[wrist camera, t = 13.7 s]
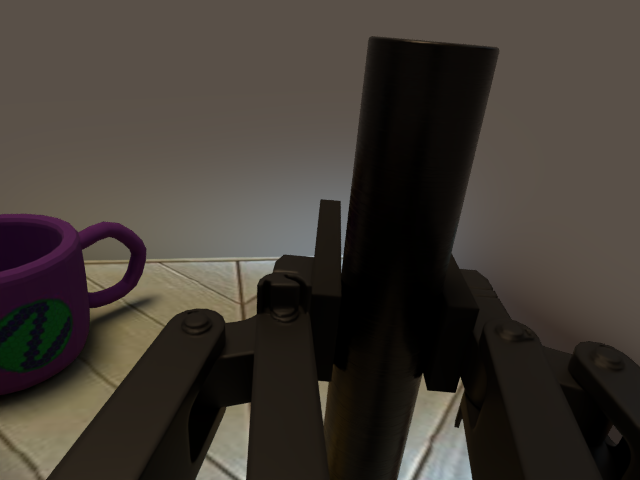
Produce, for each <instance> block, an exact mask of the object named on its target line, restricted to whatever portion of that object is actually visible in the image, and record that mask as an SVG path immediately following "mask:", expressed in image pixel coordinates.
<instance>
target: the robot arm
mask: <svg viewBox="0 0 640 480" xmlns="http://www.w3.org/2000/svg"><path fill="white" fill-rule="evenodd" d="M340 203H341V202H340V201H334V200H322V199H321V201H320V209H319V219H318V228H317V237H316V246H315V255H314V257H306V256H294V255H283V256H282V257H281V258H279V259H278V260H277V261H276V262H275V266H274V269H273V273H272V274H268V275H266V276H264V277H263V278H261V279H260V280H259V283H258V285H257V315H255V316H253V317H252V318H249V319H246V320H243V321H238V322H231V323H225V321H224V318H223V316H221V315H220V314H219V313H217V312H216V311H212V310H209V309H192V310H186V311H184V312H182V313H179V314H177V315H176V316H174V317H173V318H172V319H171V320H170V321H169V322H168V323H167V325H166V326H165V327H164V329H163V330H162V331H161V332H160V334H159V335H158V336H157V338H156V339H155V340H154V341H153V343H152V344H151V345H150V347H149V348H148V349H147V350H146V352H145V353H144V354H143V356H142V357H141V358H140V359H139V361H138V362H137V363H136V365H135V366H134V367H133V368H132V370H131V371H130V372H129V374H128V375H127V376H126V377H125V379H124V380H123V381H122V383H121V384H120V385H119V386H118V388H117V389H116V390H115V392H114V393H113V394H112V395H111V397H110V398H109V399H108V401H107V402H106V403H105V404H104V406H103V407H102V408H101V410H100V411H99V412H98V413H97V415H96V416H95V417H94V419H93V420H92V421H91V422H90V424H89V425H88V426H87V428H86V429H85V430H84V431H83V433H82V434H81V435H80V437H79V438H78V439H77V440H76V442H75V443H74V444H73V446H72V447H71V448H70V449H69V451H68V452H67V453H66V455H65V456H64V457H63V458H62V460H61V461H60V462H59V464H58V465H57V466H56V467H55V469H54V470H53V471H52V473H51V474H50V475H49V476H48V478H47V479H46V480H195V479H196V477H197V475H198V472H199V470H200V468H201V466H202V463H203V461H204V459H205V456H206V454H207V452H208V450H209V447H210V445H211V443H212V441H213V438H214V436H215V434H216V432H217V429H218V427H219V425H220V422H221V420H222V418H223V416H224V413H225V411H226V407H227V406H233V405H238V404H244V403H250V402H251V413H250V428H249V444H248V460H247V475H246V480H330V477H329V468H328V460H327V452H326V444H325V435H324V427H323V419H322V410H321V402H320V394H319V385H318V381H327V382H331V380H332V372H333V364H334V355H335V347H336V339H337V330H338V322H339V313H340V305H341V206H340V205H341V204H340ZM423 375H424V379H425V383H426V387H427V390H429V391H440V392H451V393H456V389H457V386H458V382H459V379H460V377H461V380H462V382H463V385H464V388H465V389H464V393H463V396H462V399H461V403H460V406H459V410H458V413H457V416H456V420H455V426H454V427H457V428H459V425H460V422H461V420H462V419H463V423H464V429H465V436H466V442H467V448H468V455H469V461H470V467H471V474H472V480H640V367H639V366H638V365H637V364H636V363H635V362H634V361H633V360H632V359H630V358H629V357H628V356H627V355H625V354H624V353H622V352H620V351H619V350H617V349H615V348H614V347H612V346H609V345H605V344H602V343H597V342H590V341H588V342H580V343H579V344H578V345H577V346H576V347H575V349H574V351H573V354H569V353H565V352H562V351H558V350H555V349H551V348H548V347H545V346H542V344H541V342H540V340H539V338H538V336H537V335H536V334H535V333H534V332H533V331H532V330H531V329H530V328H528V327H527V326H526V325H523V324H521V323H519V322H517V321H514V320H512V319H511V318H510V316H509V314H508V313H507V311H506V309H505V308H504V306H503V305H502V303H501V301H500V299H498V296H497V294H496V293H495V291H493V288H492V286H491V284H490V283H489V281H488V279H486V278H485V277H484V276H483V275H481V274H480V273H479V272H478V271H476V270H466V269H459V267H458V265H457V263H456V261H455V259H454V257H453V255H452V253H451V256H450V260H449V265H448V269H447V273H446V277H445V281H444V286H443V290H442V294H441V298H440V302H439V307H438V311H437V315H436V319H435V323H434V328H433V332H432V336H431V340H430V344H429V349H428V353H427V357H426V361H425V365H424V370H423ZM613 425H614V426H615V427H616V428H617V430H618V431H619V432H620V433H621V435H622V436H623V437H622V439H621V440H620V442H619V444H617V445H616V444H615V443H614V442H613V441H612V440H611V439H610V437H609V436H608V433H609V431H610V429H611V428H612V426H613Z"/></svg>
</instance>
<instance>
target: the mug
mask: <svg viewBox="0 0 640 480" xmlns="http://www.w3.org/2000/svg"><path fill="white" fill-rule="evenodd" d="M107 237H112V238H115V239H117V240H118V241H120V242H122V243H123V244H124V245H125V246H126V247H127V248H128V249H130V252H131V257H130V261H129V265H128V269H127V271H126V273H125V275H124V277H123V279H122V280H121V281H120V282H118V283H117V284H115V285H114V286H112V287H109V288H107V289H105V290H102V291H98V292H94V293H89V292H88V290H87V281H86V273H85V266H84V260H83V254H82V249H85V248H87V247H89V246H90V245H92V244H94V243H95V242H97V241H99V240H101V239H104V238H107ZM145 261H146V247H145V245H144V243H143V241H142V240H141V239H140V238H139V237H138V236H137V235H136V234H135V233H134V232H133V231H132V230H130V229H128V228H127V227H125V226H123V225H121V224H119V223H112V222H101V223H98V224H95V225H92V226H89V227H87V228H86V229H84V230H82V231H80V232H79V233H78V232H77V231H76V230H75V229H74V228H73V227H72V226H71V225H70V224H69V223H68V222H66V221H63V220H61V219H58V218H54V217H49V216H44V215H32V214H1V215H0V395H5V394H9V393H13V392H17V391H20V390H24V389H27V388H29V387H31V386H34V385H36V384H39V383H41V382H43V381H45V380H47V379H48V378H50V377H52V376H53V375H55V374H57V373H59V372H60V371H62V370H63V369H64V368H65V367H67V366H68V365H69V364H70V363H71V362H73V361H74V360H75V359H76V357H77V356H78V355H79V353H80V352H81V351H82V349H83V347H84V345H85V343H86V339H87V336H88V333H89V321H90V309H89V308H97V307H101V306H104V305H107V304H110V303H112V302H114V301H116V300H118V299H120V298H122V297H124V296H125V295H127V294H128V293H129V292H130V291H131V290H132V289H133V288H134V287H135V286H136V285H137V283H138V281H139V279H140V277H141V275H142V273H143V269H144V265H145Z"/></svg>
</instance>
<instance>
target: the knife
mask: <svg viewBox="0 0 640 480" xmlns="http://www.w3.org/2000/svg"><path fill="white" fill-rule="evenodd" d="M498 54H499V49H498V48H497V47H489V46H488V47H487V46H477V45H466V44H455V43H445V42H433V41H421V40H410V39H398V38H387V37H375V36H372V37H370V38H369V40H368V49H367V57H366V66H365V75H364V84H363V93H362V100H361V109H360V118H359V126H358V135H357V144H356V152H355V161H354V169H353V178H352V186H351V196H350V204H349V212H348V221H347V230H346V238H345V247H344V255H343V264H342V273H341V305H340V313H339V322H338V330H337V339H336V347H335V355H334V364H333V372H332V380H331V382H329V385H328V393H327V402H326V411H325V419H324V435H325V444H326V452H327V460H328V468H329V477H330V480H397V479H398V475H399V470H400V466H401V462H402V458H403V454H404V449H405V445H406V441H407V437H408V433H409V428H410V424H411V420H412V416H413V412H414V407H415V403H416V399H417V395H418V391H419V386H420V382H421V378H422V374H423V370H424V365H425V361H426V357H427V353H428V349H429V344H430V340H431V336H432V332H433V328H434V323H435V319H436V315H437V311H438V307H439V302H440V298H441V294H442V290H443V286H444V281H445V277H446V273H447V269H448V265H449V260H450V256H451V252H452V248H453V243H454V239H455V235H456V231H457V227H458V223H459V218H460V214H461V210H462V206H463V202H464V197H465V193H466V189H467V185H468V181H469V176H470V172H471V168H472V164H473V160H474V155H475V151H476V147H477V142H478V139H479V134H480V130H481V126H482V122H483V117H484V113H485V109H486V105H487V101H488V96H489V92H490V88H491V84H492V80H493V75H494V71H495V67H496V63H497V59H498Z"/></svg>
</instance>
